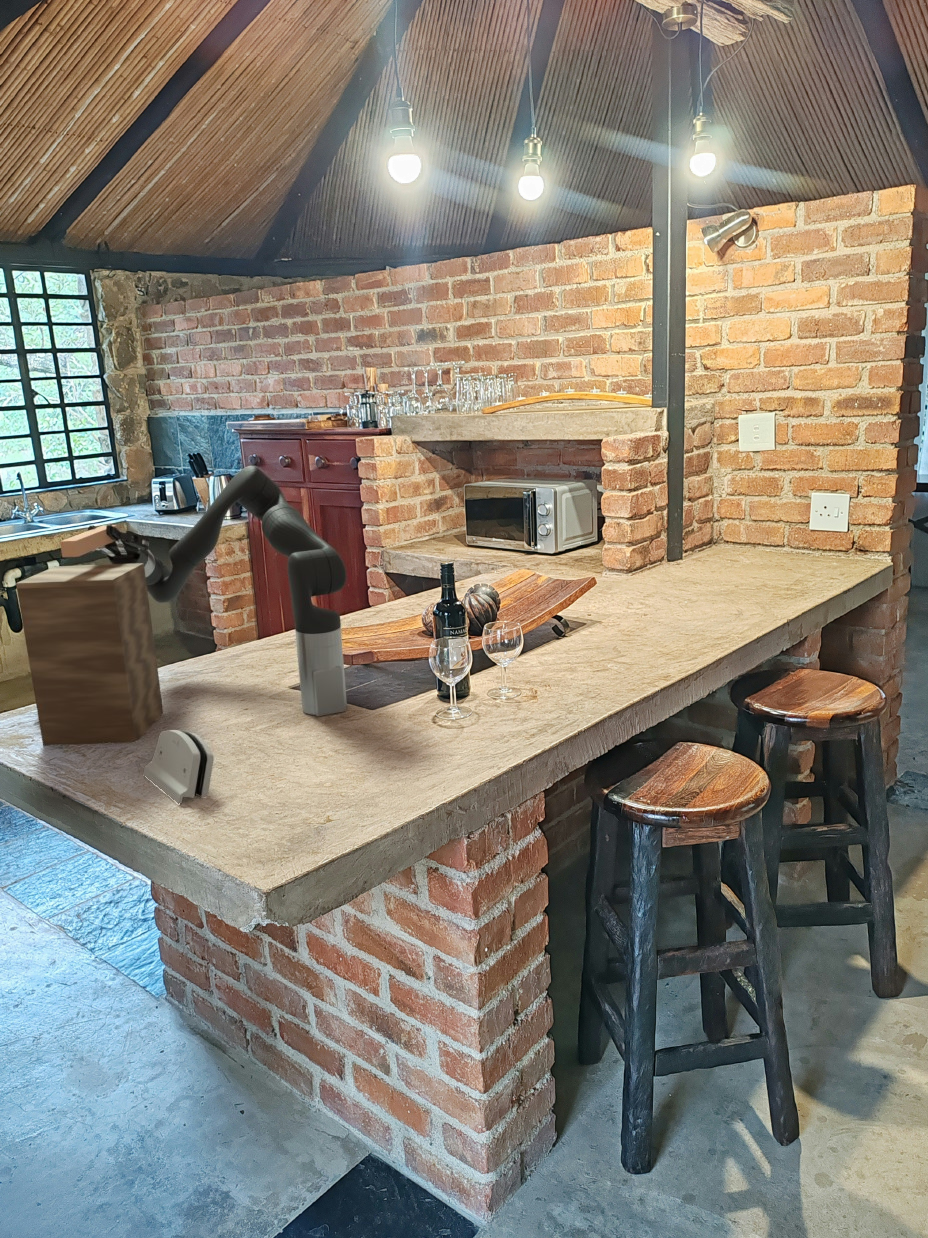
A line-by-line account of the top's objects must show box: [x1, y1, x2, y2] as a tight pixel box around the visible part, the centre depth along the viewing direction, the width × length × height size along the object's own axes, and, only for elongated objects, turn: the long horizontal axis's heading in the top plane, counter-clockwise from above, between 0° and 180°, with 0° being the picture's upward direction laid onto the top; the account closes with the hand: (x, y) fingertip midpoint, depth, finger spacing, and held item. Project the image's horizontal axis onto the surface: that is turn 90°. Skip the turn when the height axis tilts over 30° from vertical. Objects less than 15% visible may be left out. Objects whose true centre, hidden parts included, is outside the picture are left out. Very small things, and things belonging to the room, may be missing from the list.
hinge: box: [142, 729, 215, 804], centre depth 154 cm, size 17×5×10 cm, turn 39°
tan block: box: [59, 524, 119, 558], centre depth 179 cm, size 20×3×3 cm, turn 179°
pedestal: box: [15, 563, 164, 746], centre depth 178 cm, size 16×18×32 cm
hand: (99, 529), depth 183 cm, fingers closed on tan block, 3 cm apart
